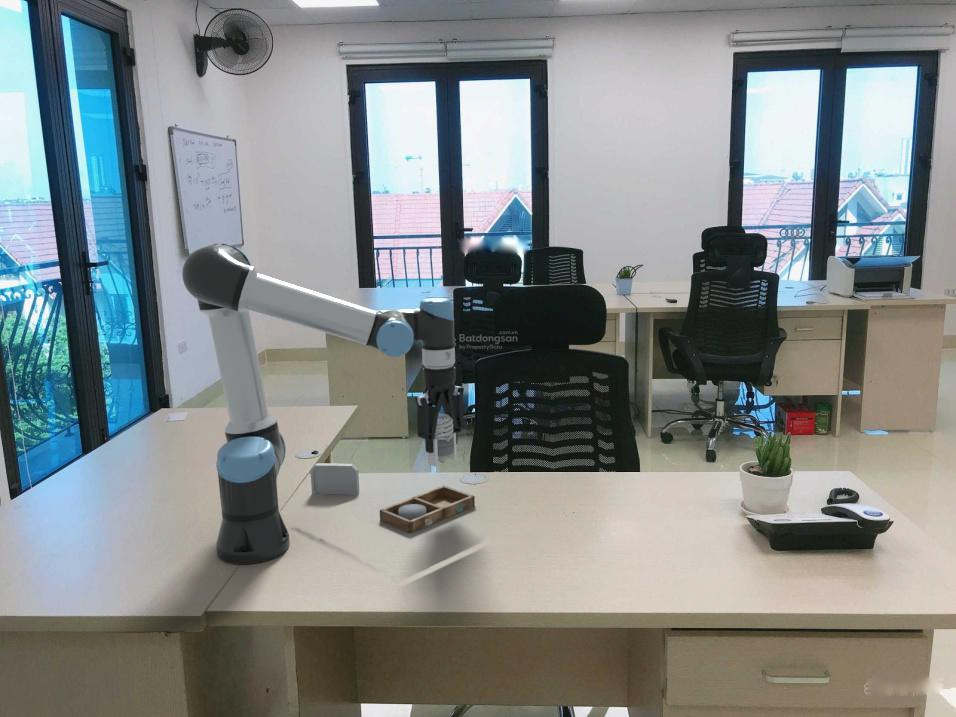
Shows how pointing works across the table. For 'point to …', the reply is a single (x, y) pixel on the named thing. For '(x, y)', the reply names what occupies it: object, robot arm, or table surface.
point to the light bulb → (444, 443)
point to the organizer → (429, 508)
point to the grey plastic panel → (334, 479)
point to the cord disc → (412, 511)
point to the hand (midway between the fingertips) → (442, 461)
